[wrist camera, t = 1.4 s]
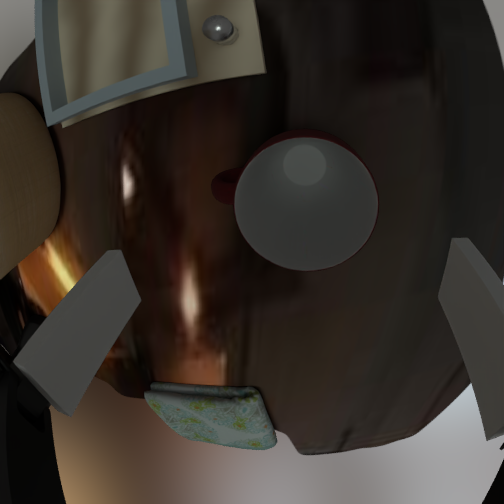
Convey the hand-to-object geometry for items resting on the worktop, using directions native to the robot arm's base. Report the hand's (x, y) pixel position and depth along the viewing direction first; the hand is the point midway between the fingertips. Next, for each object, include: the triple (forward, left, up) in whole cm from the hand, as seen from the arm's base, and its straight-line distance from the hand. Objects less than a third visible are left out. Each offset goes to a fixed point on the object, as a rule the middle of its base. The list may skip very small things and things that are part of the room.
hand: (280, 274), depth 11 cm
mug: (0, 0, -16) cm, 16 cm away
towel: (-16, -42, -16) cm, 48 cm away
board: (-12, +17, -16) cm, 26 cm away
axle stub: (-4, +12, -15) cm, 19 cm away
